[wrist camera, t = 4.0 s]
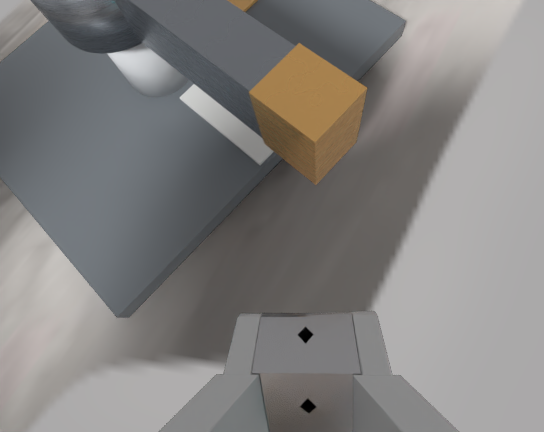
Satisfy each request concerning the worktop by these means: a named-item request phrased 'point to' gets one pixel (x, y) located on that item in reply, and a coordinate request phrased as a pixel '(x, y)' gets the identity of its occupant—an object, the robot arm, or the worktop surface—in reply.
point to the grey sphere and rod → (231, 69)
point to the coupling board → (149, 142)
